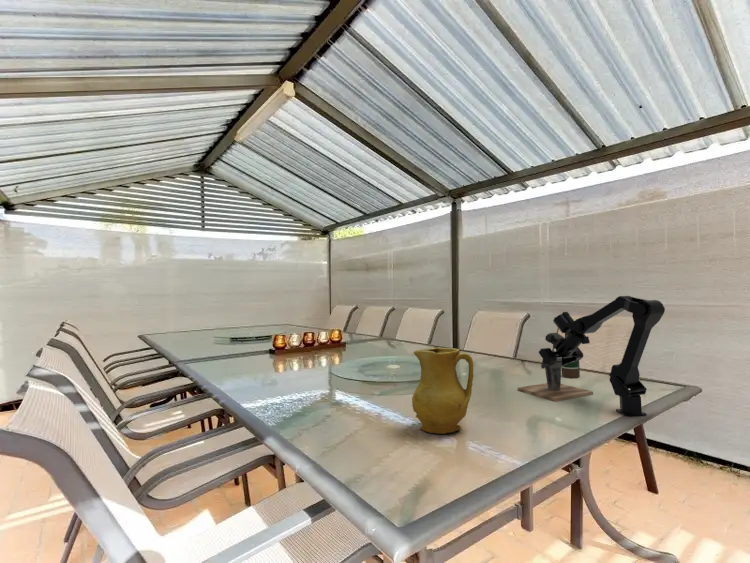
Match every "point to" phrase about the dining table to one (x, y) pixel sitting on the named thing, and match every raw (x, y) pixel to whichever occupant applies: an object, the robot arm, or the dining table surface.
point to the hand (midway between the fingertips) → (550, 366)
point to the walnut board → (555, 392)
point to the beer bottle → (571, 369)
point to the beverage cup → (554, 374)
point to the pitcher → (441, 390)
